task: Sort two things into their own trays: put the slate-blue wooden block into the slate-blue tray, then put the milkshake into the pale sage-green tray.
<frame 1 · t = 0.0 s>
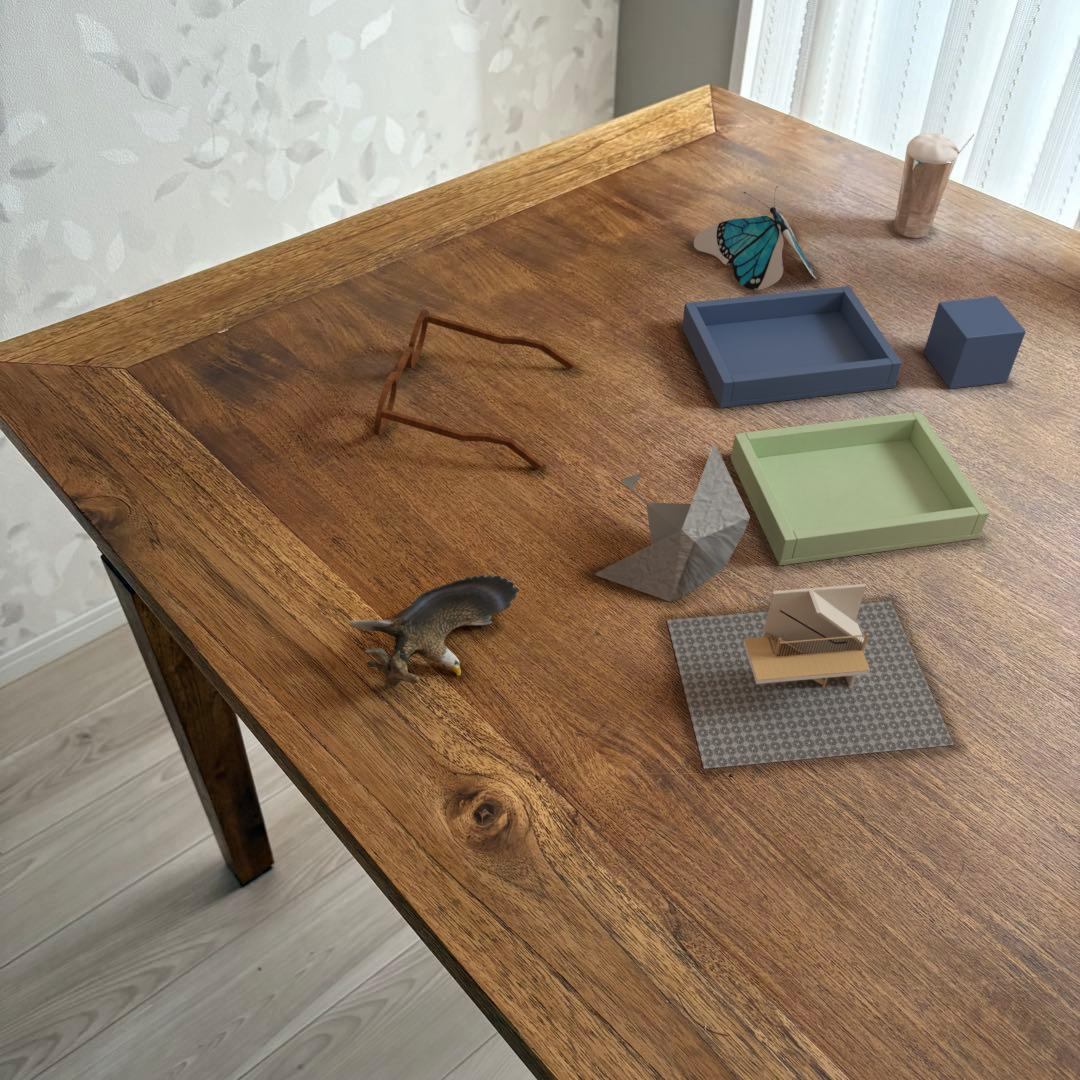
green tray: (850, 497, 80), on the table
blue tray: (785, 356, 92), on the table
glasses: (477, 408, 87), on the table
milkshake: (915, 232, 106), on the table
eagle figurine: (438, 656, 70), on the table
decorative butterfly: (764, 265, 102), on the table
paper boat: (673, 554, 76), on the table
block: (964, 367, 91), on the table
architectural model: (802, 681, 69), on the table
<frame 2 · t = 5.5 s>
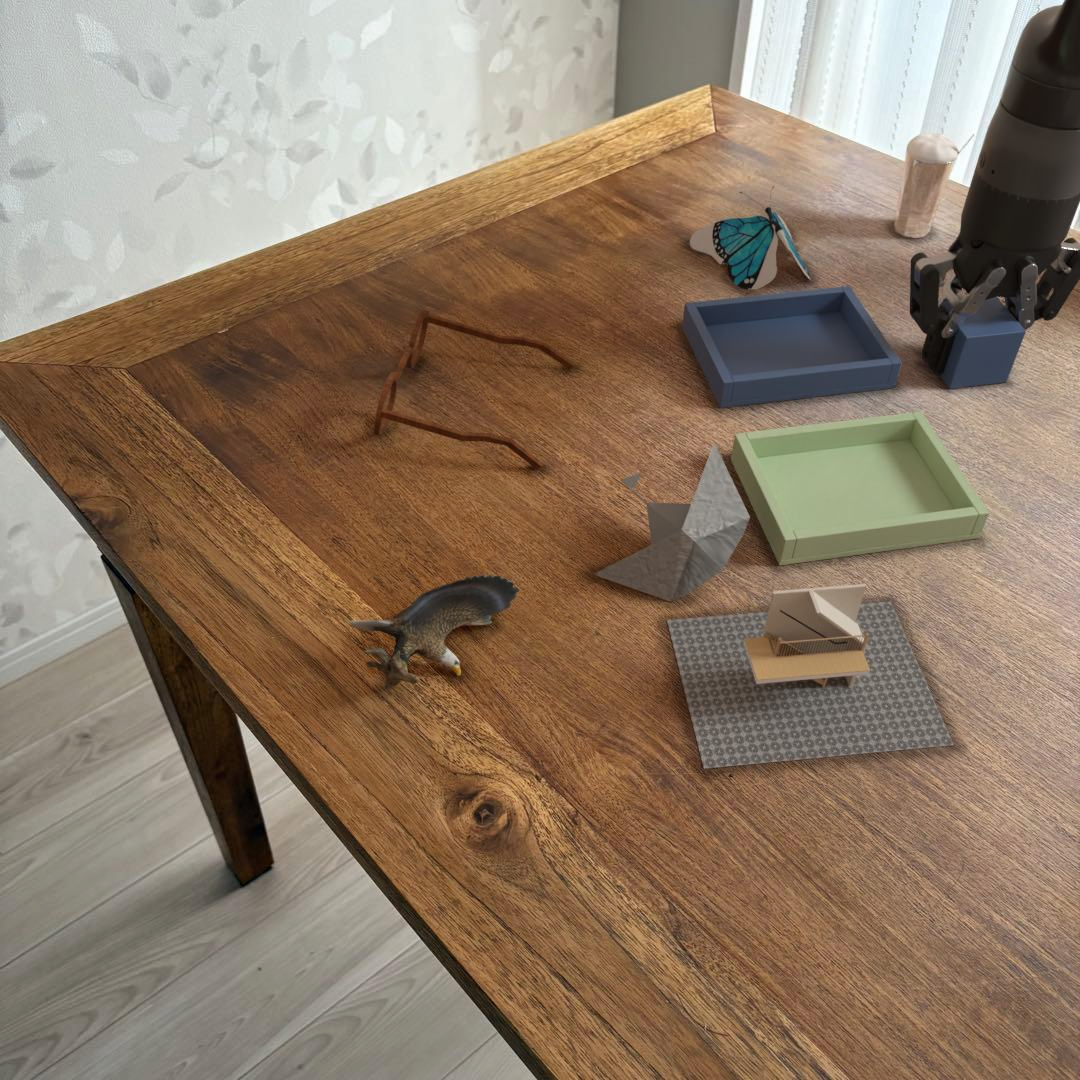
hand: (966, 363, 91), 0 cm above the table, tool pointing down, fingers closed on block, 5 cm apart
block: (964, 367, 91), on the table, touching gripper
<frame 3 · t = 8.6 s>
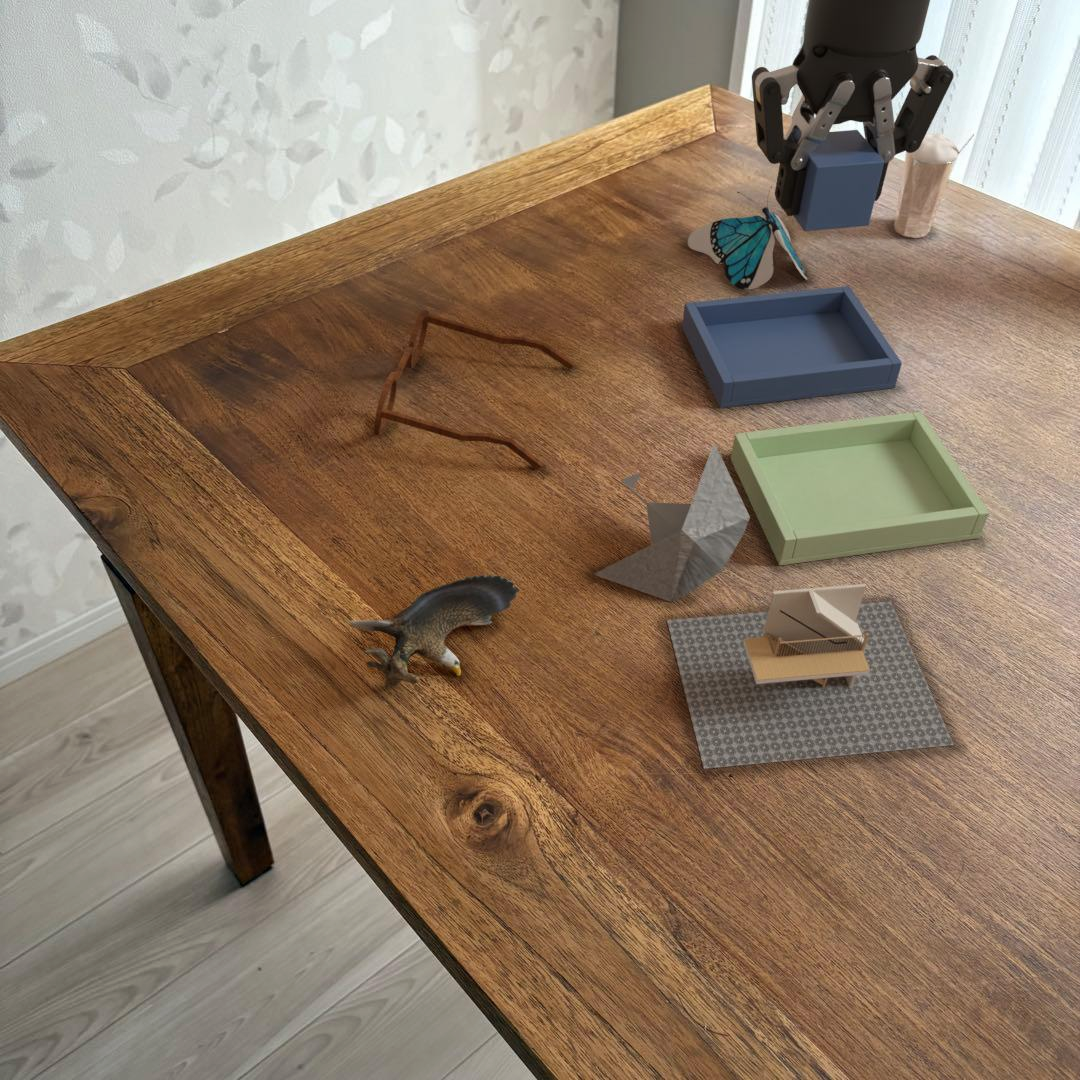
hand: (825, 206, 82), 14 cm above the table, tool pointing down, fingers closed on block, 5 cm apart
block: (824, 211, 82), point 13 cm above the table, touching gripper
everything else where it was.
when the fingers open (1 cm above the table, at t = 11.9 s): block stays where it is, resting on blue tray.
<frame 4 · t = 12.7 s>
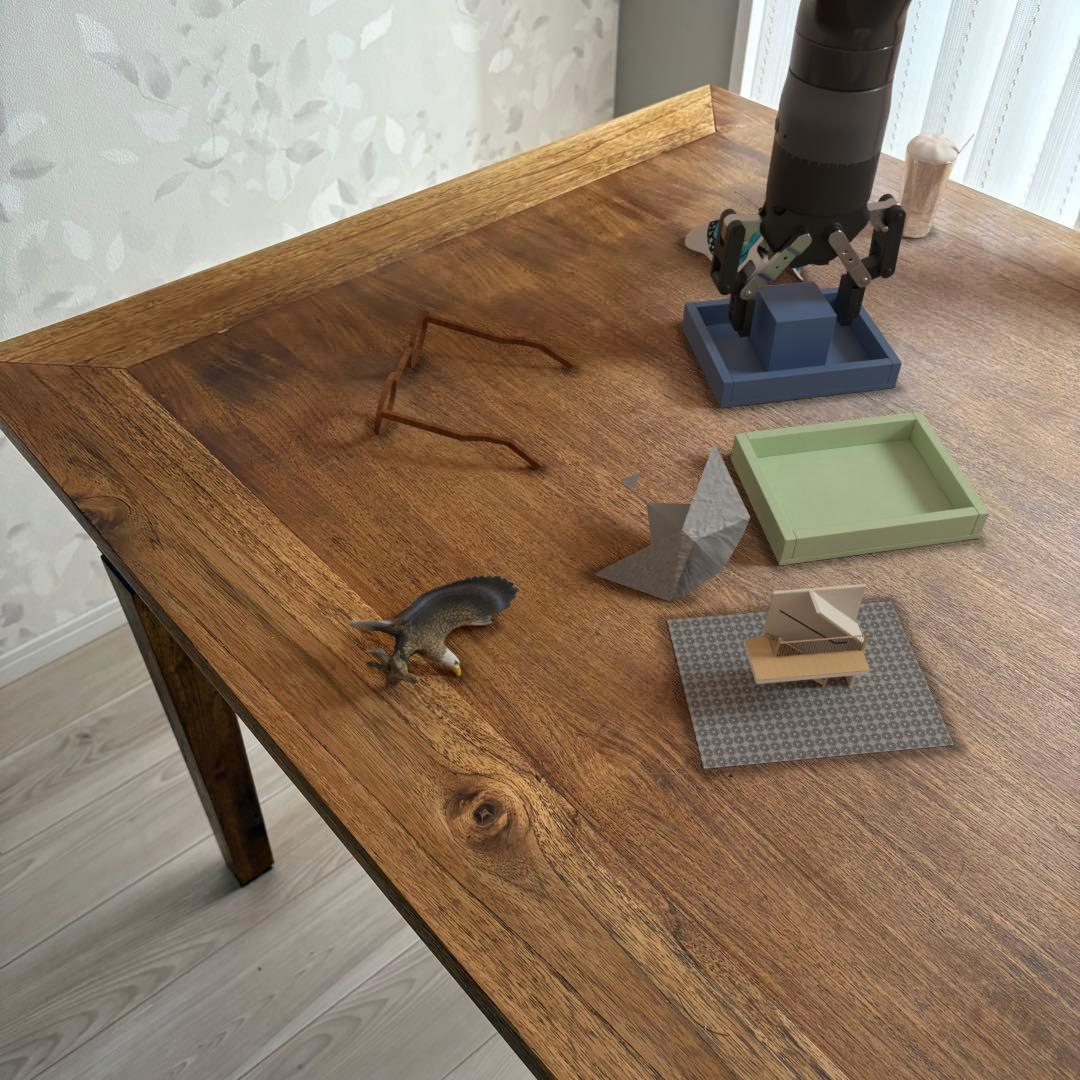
hand: (792, 326, 90), 3 cm above the table, tool pointing down, fingers open, 8 cm apart
block: (785, 352, 92), resting on blue tray
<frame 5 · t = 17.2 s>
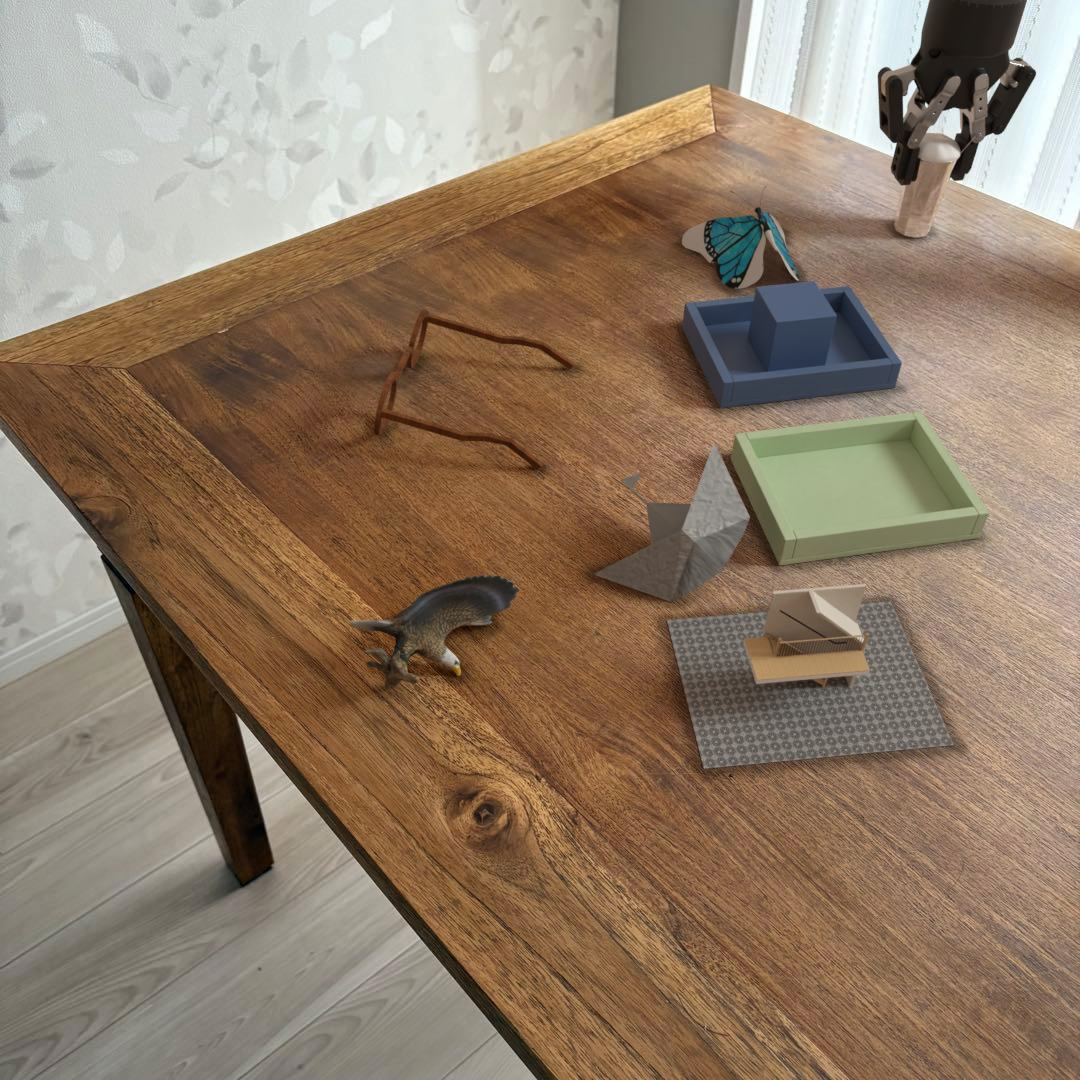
hand: (928, 178, 102), 5 cm above the table, tool pointing down, fingers closed on milkshake, 4 cm apart
milkshake: (914, 232, 106), on the table, touching gripper
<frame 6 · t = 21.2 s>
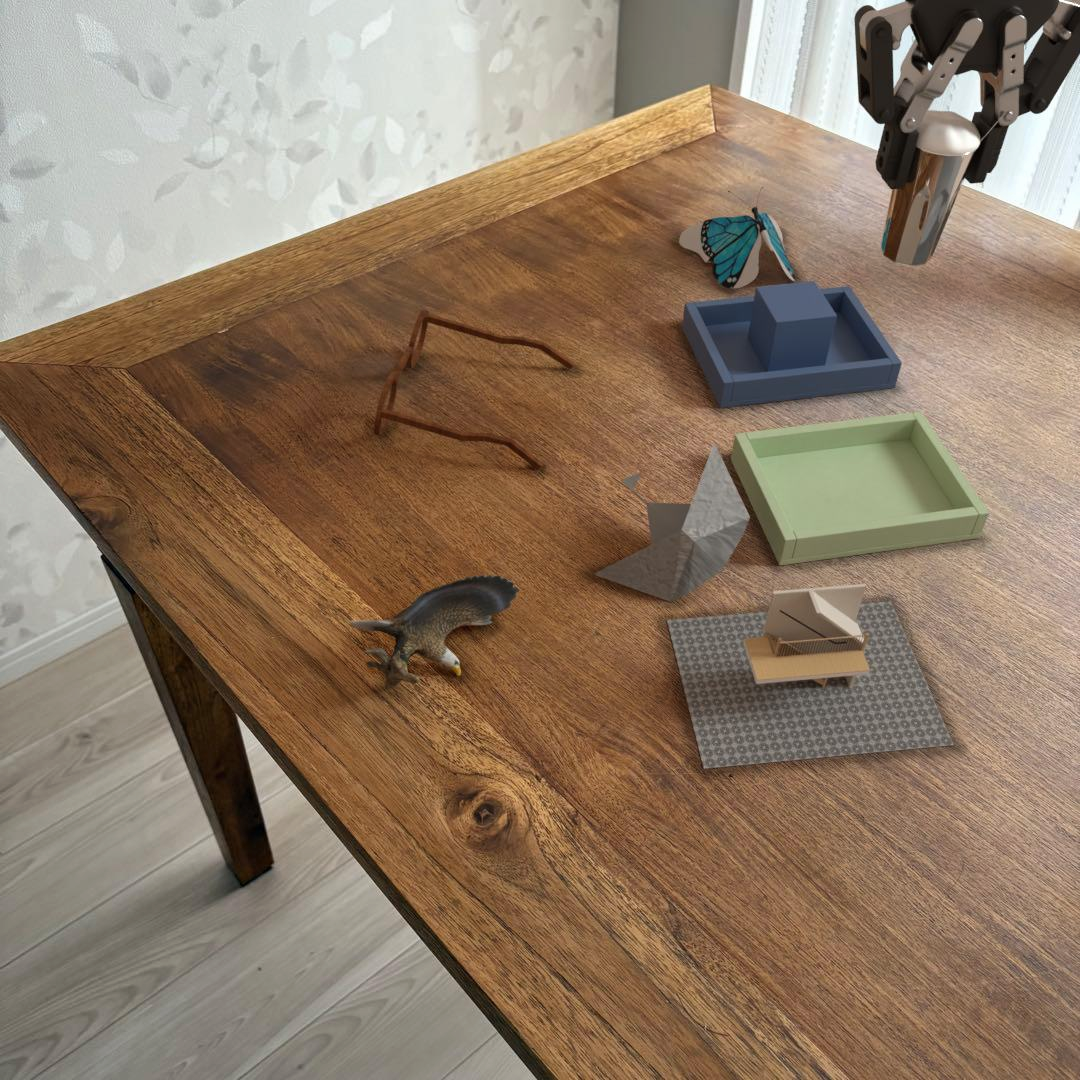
hand: (931, 179, 68), 22 cm above the table, tool pointing down, fingers closed on milkshake, 4 cm apart
milkshake: (911, 257, 72), point 16 cm above the table, touching gripper
when the fingers open (6 cm above the table, at t = 25.6 s): milkshake stays where it is, resting on green tray.
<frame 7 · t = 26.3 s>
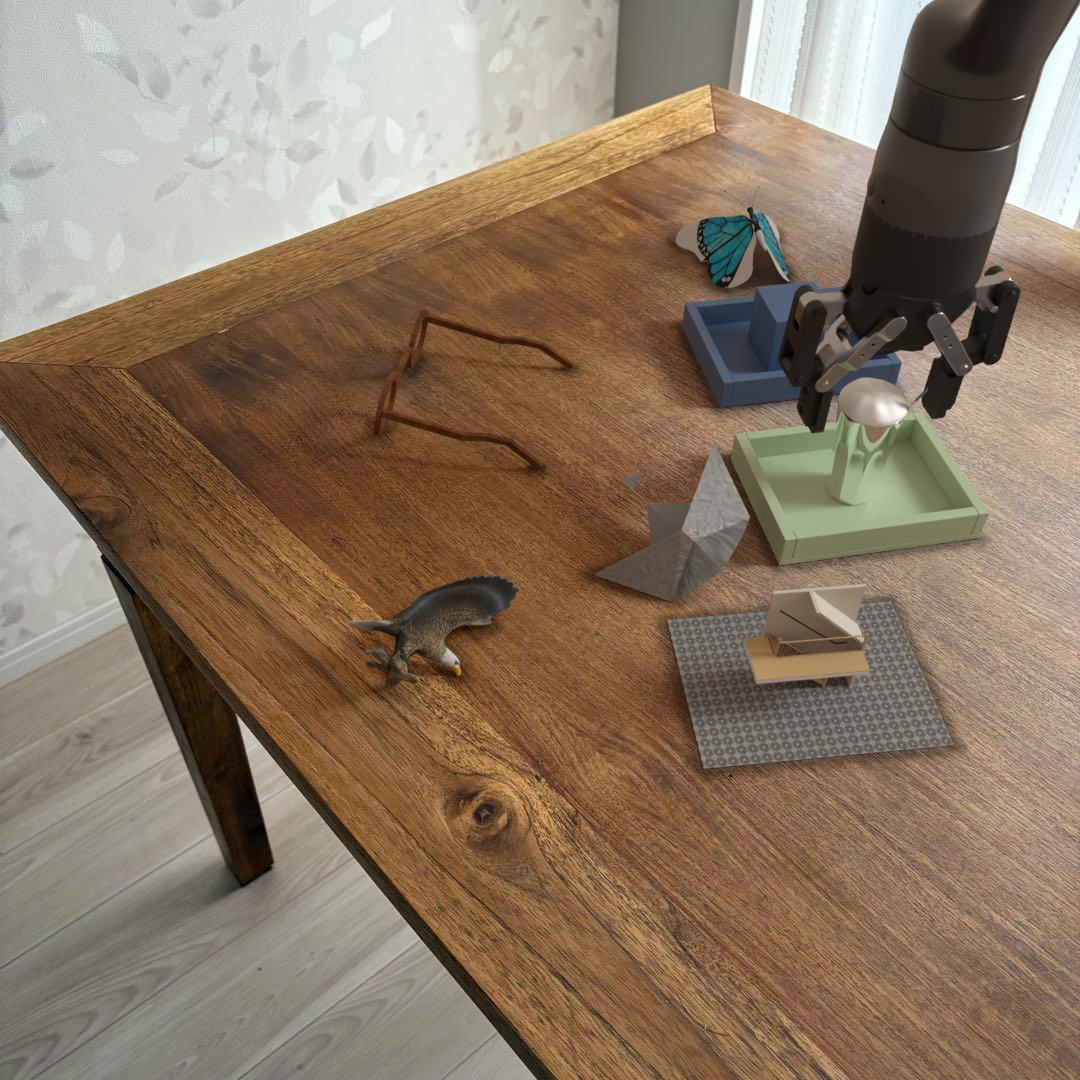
hand: (872, 418, 75), 7 cm above the table, tool pointing down, fingers open, 8 cm apart
milkshake: (854, 493, 80), resting on green tray
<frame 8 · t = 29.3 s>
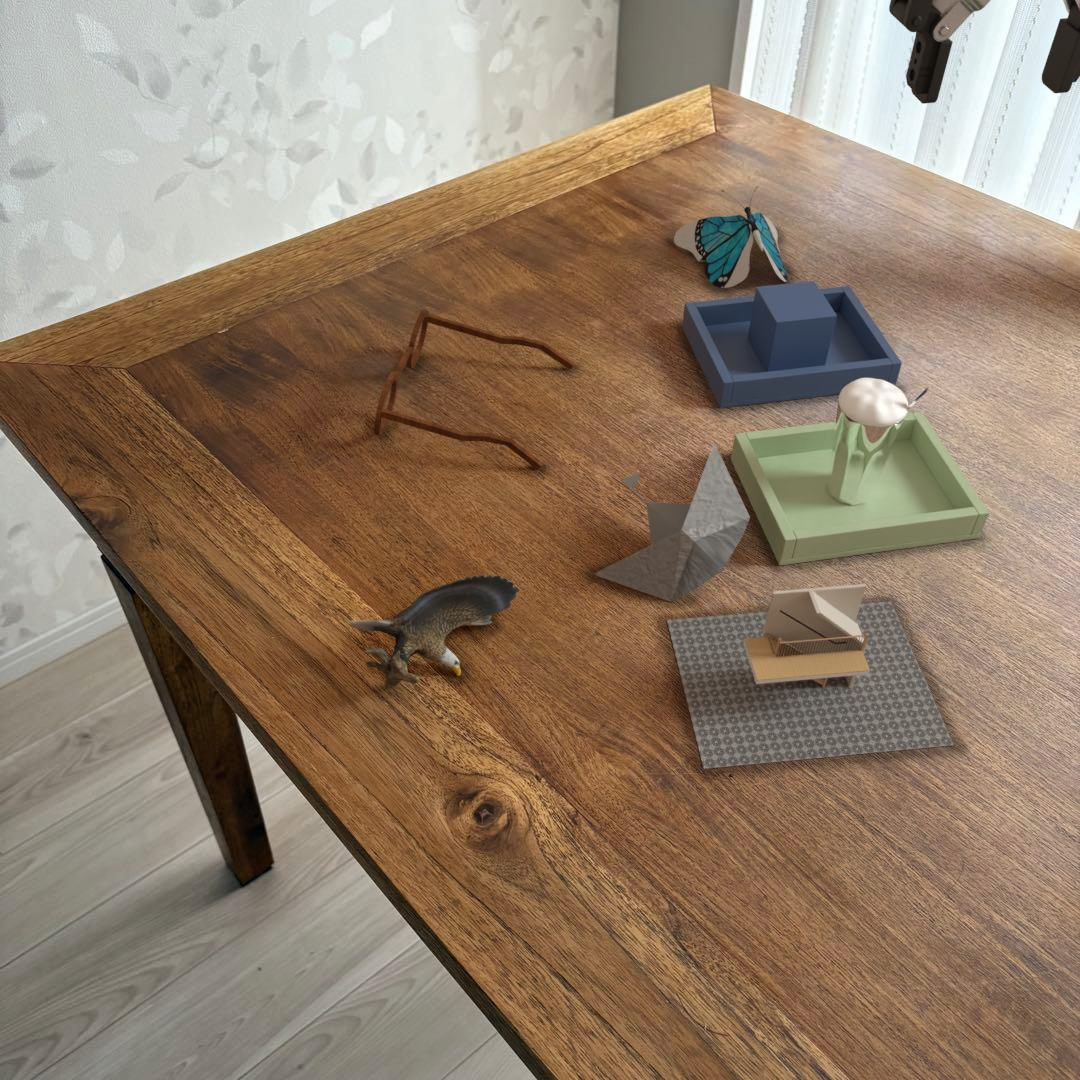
hand: (989, 93, 67), 26 cm above the table, tool pointing down, fingers open, 8 cm apart
at the end: block inside the target area in the blue tray (0.1 cm from its centre), point 0.5 cm above the blue tray's base; milkshake inside the target area in the green tray (0.2 cm from its centre), point 0.3 cm above the green tray's base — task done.
